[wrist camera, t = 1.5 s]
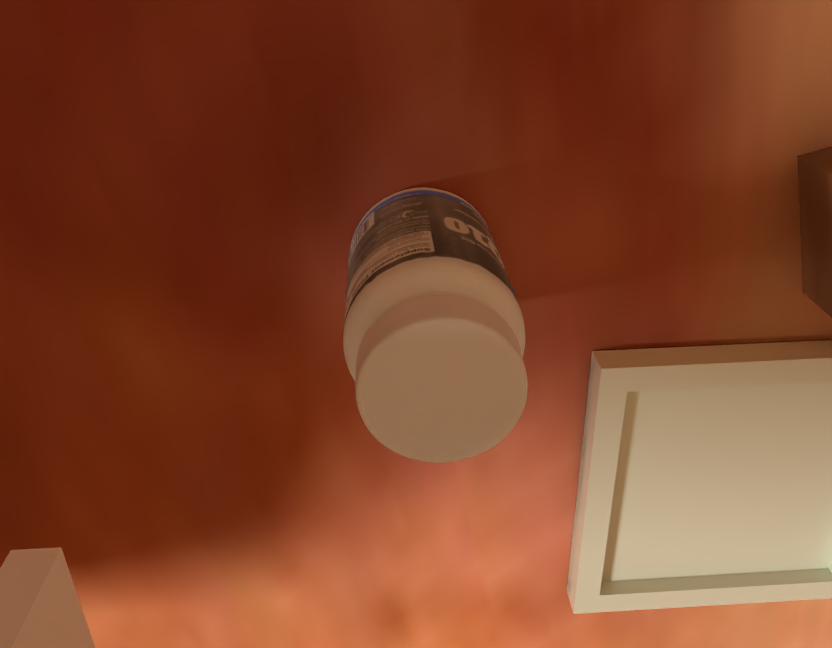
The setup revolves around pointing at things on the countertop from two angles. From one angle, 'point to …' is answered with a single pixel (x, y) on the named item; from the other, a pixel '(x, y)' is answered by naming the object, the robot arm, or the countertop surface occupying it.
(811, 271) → the walnut cube
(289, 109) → the countertop surface
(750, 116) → the countertop surface
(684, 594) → the tray
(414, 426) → the pill bottle
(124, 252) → the countertop surface
